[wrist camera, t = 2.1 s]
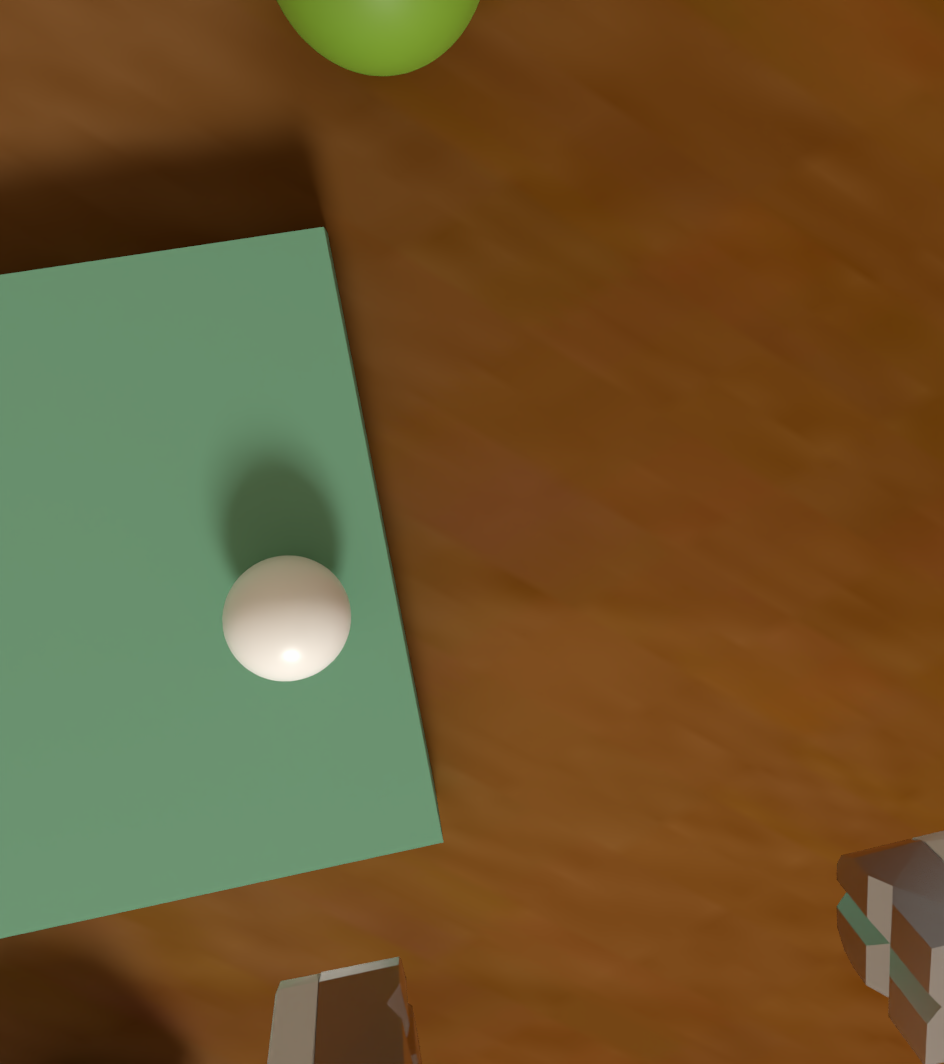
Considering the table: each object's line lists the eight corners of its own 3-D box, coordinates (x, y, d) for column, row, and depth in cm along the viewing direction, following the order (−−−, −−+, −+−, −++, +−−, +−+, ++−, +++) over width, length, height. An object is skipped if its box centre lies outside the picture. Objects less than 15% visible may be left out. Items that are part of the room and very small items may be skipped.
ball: (339, 529, 23) (335, 570, 20) (361, 635, 24) (362, 690, 21) (220, 551, 23) (196, 596, 19) (248, 657, 24) (230, 717, 21)
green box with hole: (327, 232, 23) (318, 217, 18) (436, 797, 29) (452, 908, 24) (-405, 341, 21) (-652, 360, 16) (-120, 915, 28) (-231, 1061, 22)
